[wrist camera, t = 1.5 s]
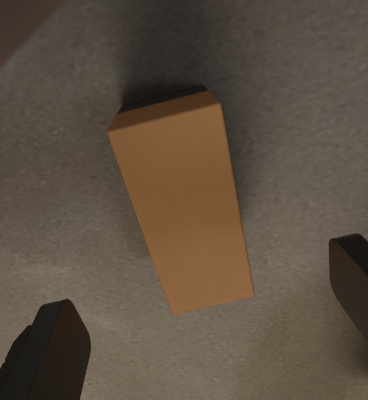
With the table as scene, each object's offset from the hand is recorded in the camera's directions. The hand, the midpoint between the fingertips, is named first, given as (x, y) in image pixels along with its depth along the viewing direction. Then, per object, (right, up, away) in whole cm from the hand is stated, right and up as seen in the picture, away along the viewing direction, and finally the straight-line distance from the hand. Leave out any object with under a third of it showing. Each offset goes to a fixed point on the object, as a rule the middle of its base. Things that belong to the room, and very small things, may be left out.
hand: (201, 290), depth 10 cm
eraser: (0, +4, +7) cm, 8 cm away
